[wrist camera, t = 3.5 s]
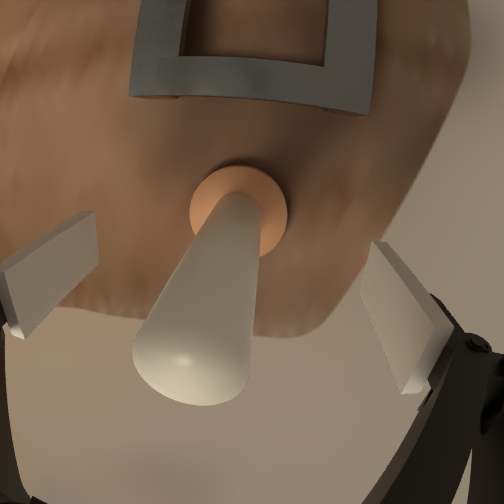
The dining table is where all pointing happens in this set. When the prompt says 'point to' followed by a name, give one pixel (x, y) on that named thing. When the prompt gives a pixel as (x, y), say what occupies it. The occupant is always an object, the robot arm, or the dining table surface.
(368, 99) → the keyhole plate
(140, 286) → the dining table surface
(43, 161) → the dining table surface
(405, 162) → the dining table surface
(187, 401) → the peg
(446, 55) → the dining table surface
